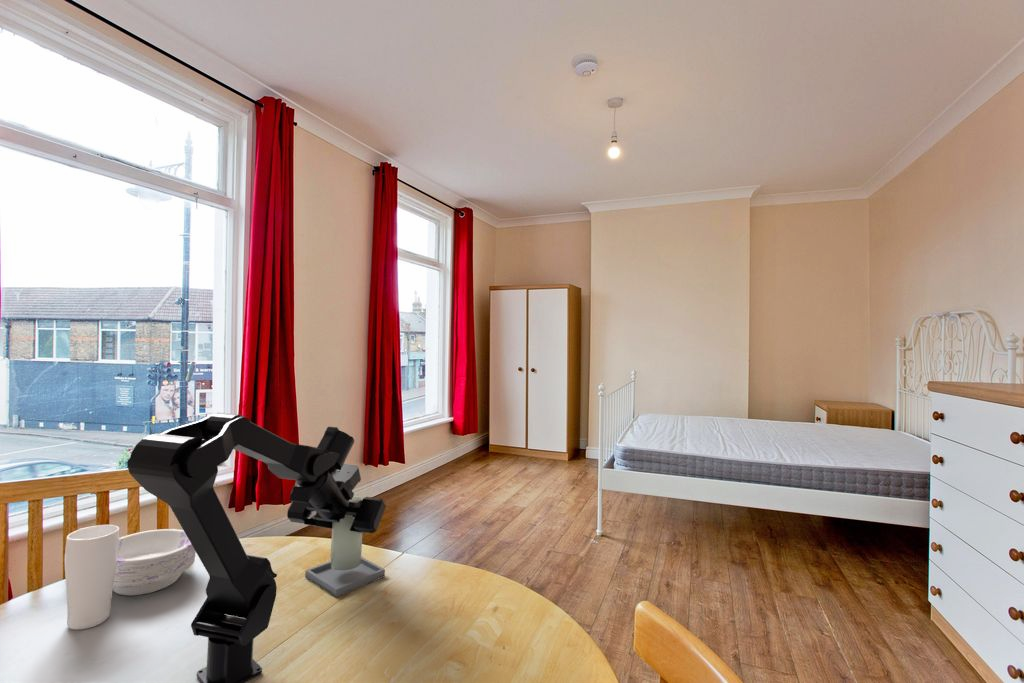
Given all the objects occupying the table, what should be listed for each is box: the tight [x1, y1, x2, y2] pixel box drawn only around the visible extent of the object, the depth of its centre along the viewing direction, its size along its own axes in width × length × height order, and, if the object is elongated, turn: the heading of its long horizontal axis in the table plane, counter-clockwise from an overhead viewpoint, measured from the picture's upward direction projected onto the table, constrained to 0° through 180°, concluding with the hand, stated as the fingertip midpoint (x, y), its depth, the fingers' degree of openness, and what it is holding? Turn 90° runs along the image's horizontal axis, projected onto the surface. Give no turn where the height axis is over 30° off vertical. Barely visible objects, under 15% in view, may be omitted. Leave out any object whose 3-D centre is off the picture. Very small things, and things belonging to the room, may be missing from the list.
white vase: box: [64, 524, 120, 631], centre depth 78 cm, size 7×7×15 cm
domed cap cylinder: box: [329, 495, 364, 570], centre depth 97 cm, size 6×6×13 cm
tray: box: [304, 556, 386, 598], centre depth 97 cm, size 11×11×2 cm
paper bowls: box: [112, 528, 197, 596], centre depth 91 cm, size 15×15×8 cm
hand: (350, 529), depth 99 cm, fingers closed on domed cap cylinder, 6 cm apart
